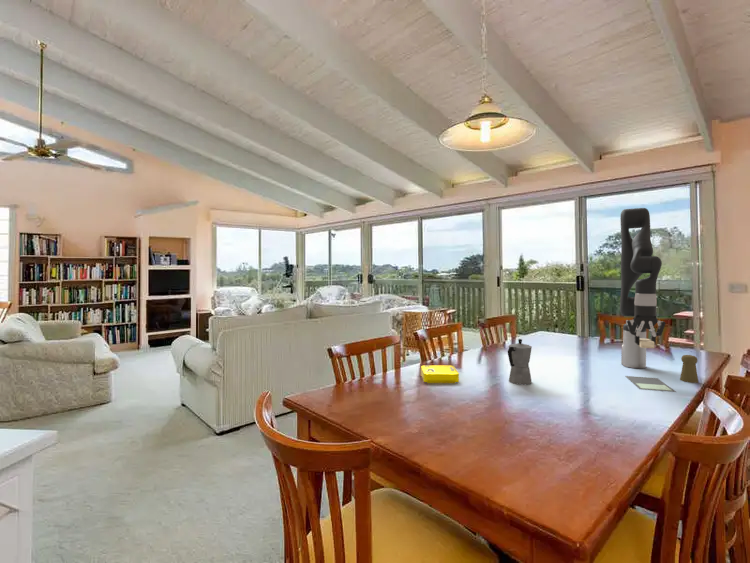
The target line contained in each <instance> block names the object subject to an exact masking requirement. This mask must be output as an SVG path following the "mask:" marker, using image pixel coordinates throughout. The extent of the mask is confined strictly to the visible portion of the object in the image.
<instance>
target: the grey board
mask: <svg viewBox="0 0 750 563" xmlns="http://www.w3.org/2000/svg"><path fill="white" fill-rule="evenodd" d="M625 378H627V379H628V381H629V382H630V383H632V384H633V385H634V386H635V387H637V389H638V390H641V391H642V390H643V391H654V392H655V391H657V392H669V393H670V392H671V393H677V391H676V390H675V389H674V388H672V387H671V386H669V385H668V384H666V383H665V382H663V381H662V380H661V379H659V377H646V376H635V375H634V376H633V375H625Z"/></svg>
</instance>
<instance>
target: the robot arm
mask: <svg viewBox="0 0 750 563" xmlns="http://www.w3.org/2000/svg"><path fill="white" fill-rule="evenodd" d="M619 221H620V235H621V237H620V238H621V251H620V252H621V253H620V279H621V280H620V281H621V282H620V283H621V285H620V298H619V299H620V300H619V312H620V315H621V316H623V317H633V319H629V320H628V319H626V320H625V323H624V324H623V326H622V330H623V331H622V332H623V334H622V335H623V337H622V340H623V342H622V344H621V351H620V352H621V353H620V354H621V358H620V359H621V360H620V361H621V362H620V363H621V365H622V366H623V367H626V368H633V369H646V368H647V348H641V347H640V346H638V345H639V340H640V338H642V339H647V330H648V331H649V333H650V338H649V339H650V340H651V341H653V342H654V346H656V343H657V340H656V339H657V337H659V336H662V334H663V332H664V329H665V327H666V322H665V321H663V320H662V321H661V320H658V318H657V300H658V299H657V281H658V277H659V274H660V271H661V269H662V265H663V264H662V259H661V258H660V257H659V256H656V255H655V256H654V255H653V254H654V249H653V244H652V240H651V239H652V238H651V215H650V211H649V209H647V207H636V208H624V209H622V210H621V213H620V220H619ZM630 229H640V230H639V231H638V232H637V233H636V234H635V236H634V237H633V238H632V236H631V234H630ZM643 274H649V276H648V277H645V278H640V277H641V276H642V275H643ZM639 278H640V279H639ZM634 285H635V288H634V289H635V292H634V293H635V295H634V297H631V296H629V294H630V291H631V290H632V288H633V286H634ZM655 325H657V331H656V329H655V328H654V327H655Z"/></svg>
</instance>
